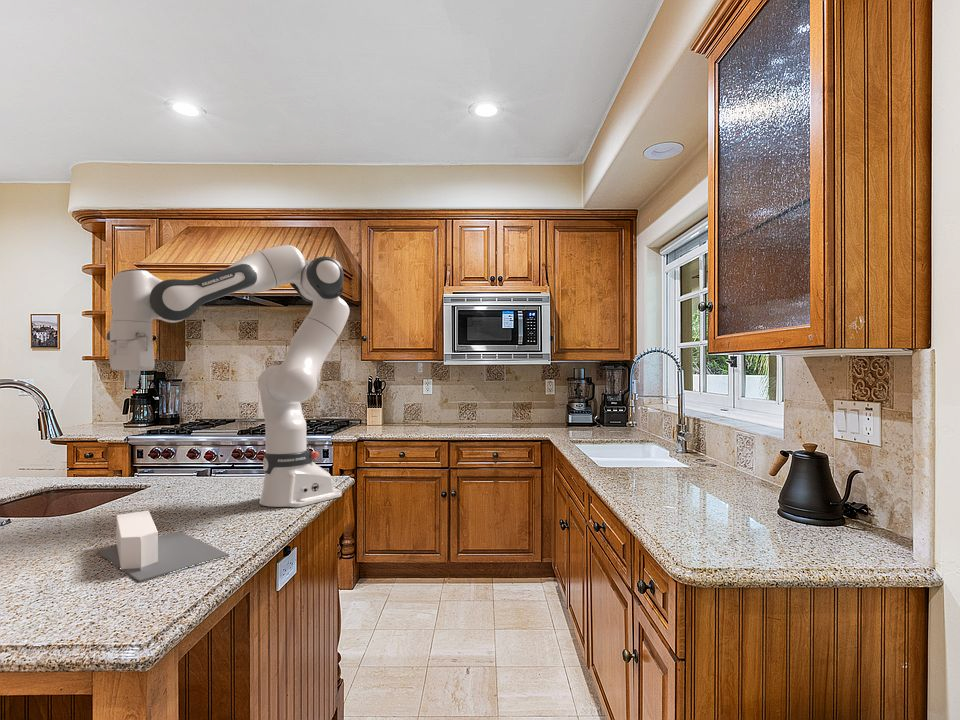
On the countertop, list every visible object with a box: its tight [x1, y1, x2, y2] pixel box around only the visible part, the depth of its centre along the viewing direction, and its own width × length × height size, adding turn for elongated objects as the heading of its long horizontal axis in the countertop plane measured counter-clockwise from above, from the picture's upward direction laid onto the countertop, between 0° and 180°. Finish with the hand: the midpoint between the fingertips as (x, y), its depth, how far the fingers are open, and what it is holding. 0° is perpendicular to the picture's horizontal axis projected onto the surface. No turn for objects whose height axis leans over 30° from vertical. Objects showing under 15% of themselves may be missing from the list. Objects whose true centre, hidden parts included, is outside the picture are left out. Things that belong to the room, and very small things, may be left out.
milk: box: [115, 510, 159, 570], centre depth 105 cm, size 6×6×22 cm
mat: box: [96, 531, 230, 583], centre depth 106 cm, size 24×16×1 cm, turn 52°
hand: (131, 388), depth 130 cm, fingers closed
